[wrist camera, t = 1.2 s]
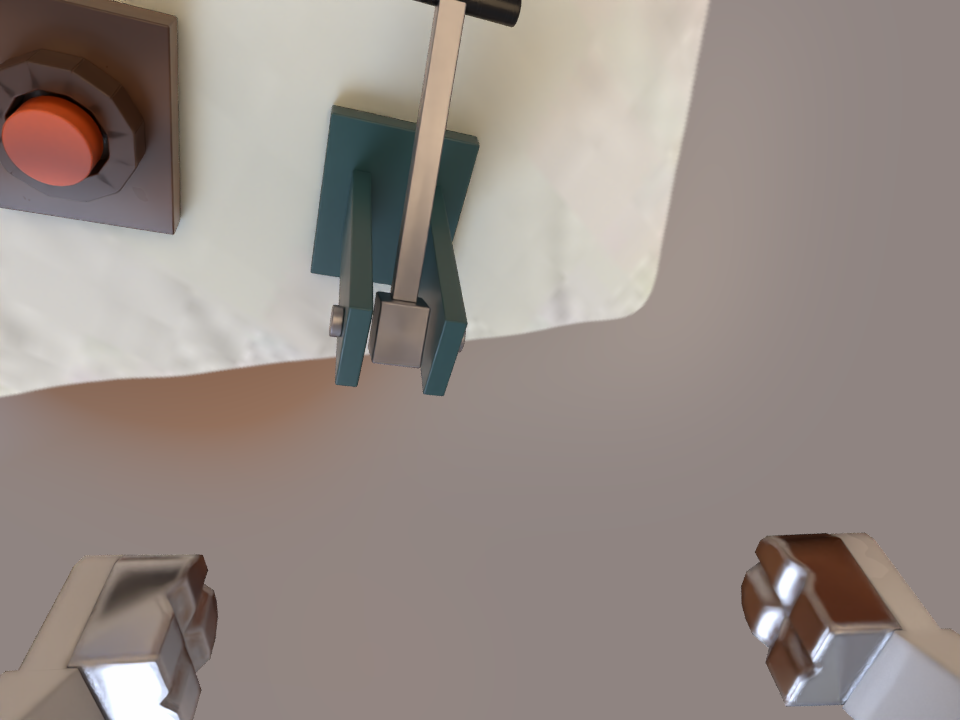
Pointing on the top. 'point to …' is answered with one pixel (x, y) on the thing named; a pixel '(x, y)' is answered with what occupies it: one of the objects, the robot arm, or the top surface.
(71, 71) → the control block
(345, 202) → the bracket
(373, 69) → the top surface
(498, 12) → the lever
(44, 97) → the button
